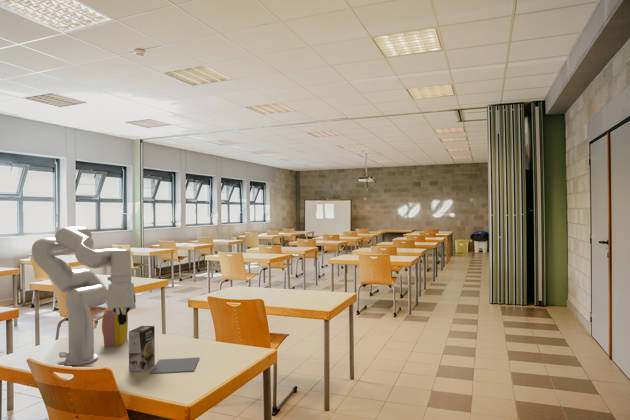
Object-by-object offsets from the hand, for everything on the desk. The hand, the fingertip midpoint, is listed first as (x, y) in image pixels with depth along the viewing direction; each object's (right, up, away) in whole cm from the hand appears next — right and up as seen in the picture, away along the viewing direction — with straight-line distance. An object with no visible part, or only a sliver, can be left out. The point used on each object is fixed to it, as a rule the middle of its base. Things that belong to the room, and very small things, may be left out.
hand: (122, 323), depth 172 cm
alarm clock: (-19, -19, +34) cm, 43 cm away
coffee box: (+8, -19, +1) cm, 20 cm away
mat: (+21, -18, +2) cm, 28 cm away
